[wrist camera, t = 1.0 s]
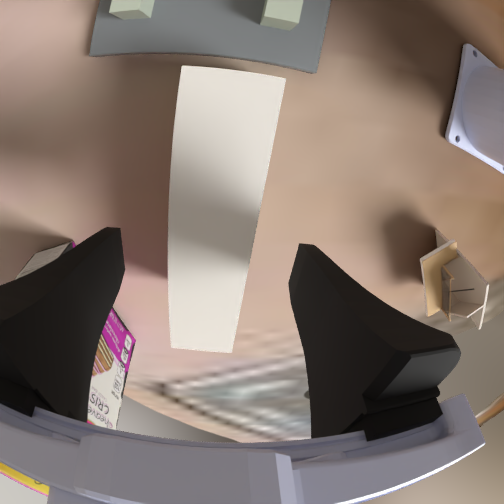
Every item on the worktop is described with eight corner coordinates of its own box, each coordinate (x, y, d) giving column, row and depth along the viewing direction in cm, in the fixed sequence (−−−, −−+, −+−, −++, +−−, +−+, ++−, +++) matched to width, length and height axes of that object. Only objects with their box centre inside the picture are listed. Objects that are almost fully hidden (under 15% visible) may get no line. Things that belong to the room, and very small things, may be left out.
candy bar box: (140, 339, 23) (111, 517, 10) (98, 343, 24) (60, 500, 10) (75, 234, 17) (-38, 452, 3) (33, 250, 17) (-66, 426, 4)
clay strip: (266, 81, 13) (286, 78, 8) (230, 286, 21) (231, 352, 16) (201, 72, 13) (181, 65, 8) (182, 281, 20) (171, 347, 15)
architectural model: (409, 290, 23) (447, 351, 17) (398, 233, 19) (450, 298, 13) (439, 273, 22) (480, 329, 16) (432, 214, 19) (490, 271, 12)
